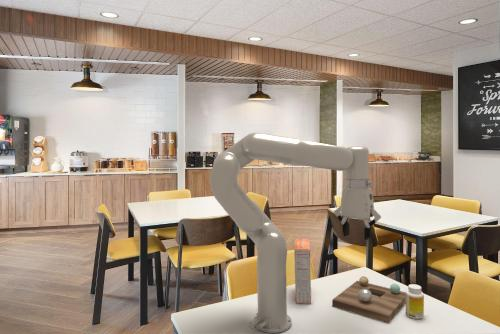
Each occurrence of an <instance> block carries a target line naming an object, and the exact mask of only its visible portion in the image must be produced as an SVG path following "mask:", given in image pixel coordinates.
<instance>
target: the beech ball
mask: <svg viewBox="0 0 500 334" xmlns="http://www.w3.org/2000/svg"><path fill="white" fill-rule="evenodd" d="M358 281H359V282H360V284H361V285H363V286H365V285H367V284H368V283H370V282H369V278H368V277H366V276H364V275H363V276H360V277H359V280H358Z"/></svg>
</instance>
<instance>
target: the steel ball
mask: <svg viewBox="0 0 500 334" xmlns="http://www.w3.org/2000/svg"><path fill="white" fill-rule="evenodd" d="M359 298H360V300H361V301H363V302H369V301H370V300H371V299H372V294H371V292H370V291H369V290H368V289H362V290H360V292H359Z"/></svg>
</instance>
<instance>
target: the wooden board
mask: <svg viewBox="0 0 500 334" xmlns="http://www.w3.org/2000/svg"><path fill="white" fill-rule="evenodd" d="M362 289H368V290H369V291H370V292H371V294H372V299H371V300H370V301H369V302H363V301H361V300H360V298H359V292H360V290H362ZM331 300H332V301H331V302H332V306H331V307H333V308H337V309H340V310H343V311H347V312H351V313H353V314H357V315H359V316H363V317H365V318H370V319H373V320H377V321H380V322H382V323H386V324H390V322H391V321H392V320H393V319H394V318H395V316H396V315H397V314H398V313H399V312H400V311H401V310H402V308H403V307H404V306H406V291H401V290H400V292H399V293H393V292H392V291H391V290H390V287H386V286H382V285H378V284H373V283H370V282H368V284H367V285H365V286H363V285H361V284H360V282H359V280H356V281H355V282H353V283H352V284H351V285H350V286H348V287H346V288H345V289H344V290H342V292H340V293H339V294H337V295H336V296H335V297H333V299H331Z"/></svg>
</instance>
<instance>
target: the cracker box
mask: <svg viewBox="0 0 500 334" xmlns="http://www.w3.org/2000/svg"><path fill="white" fill-rule="evenodd" d="M293 255H294V258H293V259H294V284H295V285H294V289H295V291H294V292H295V293H294V294H295V304H299V305H301V304H306V305H311V304H312V289H311V288H312V287H311V285H312V283H311V247H310V239H309V238H295V239H294V254H293Z"/></svg>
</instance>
